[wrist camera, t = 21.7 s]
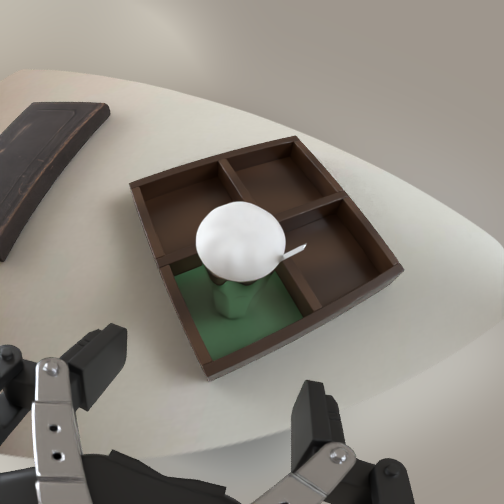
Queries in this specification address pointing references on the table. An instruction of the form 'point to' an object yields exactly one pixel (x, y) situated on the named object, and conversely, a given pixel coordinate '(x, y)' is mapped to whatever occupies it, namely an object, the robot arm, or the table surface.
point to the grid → (291, 269)
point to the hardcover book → (39, 157)
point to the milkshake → (240, 255)
